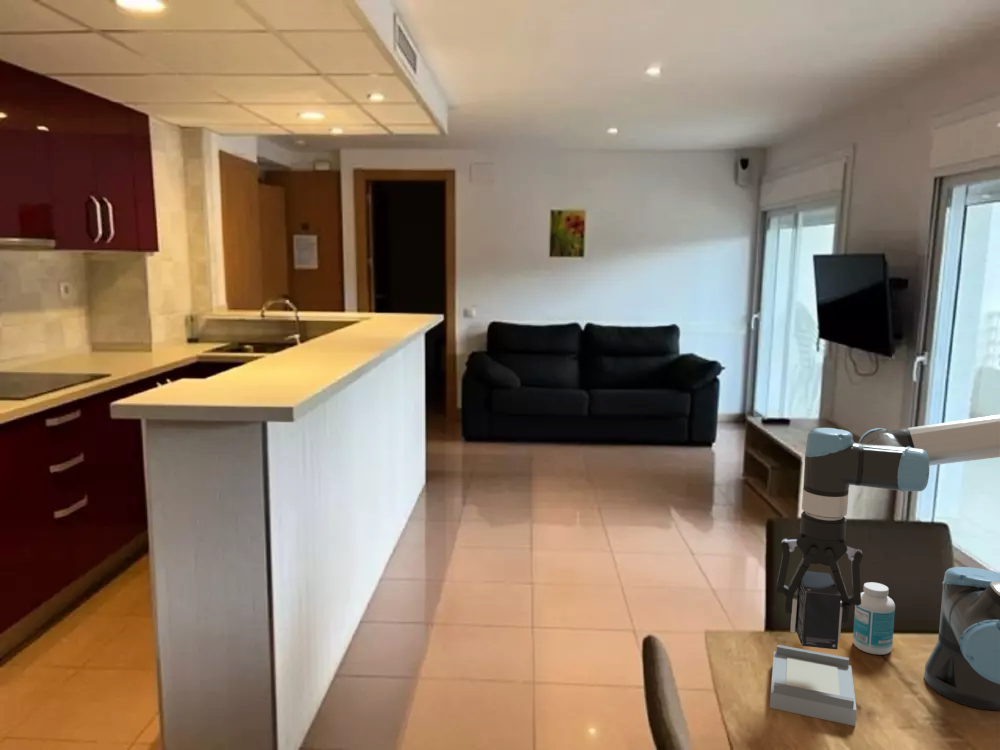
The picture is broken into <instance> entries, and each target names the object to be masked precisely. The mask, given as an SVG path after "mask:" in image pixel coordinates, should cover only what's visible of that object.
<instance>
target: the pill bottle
mask: <svg viewBox="0 0 1000 750" xmlns="http://www.w3.org/2000/svg"><path fill="white" fill-rule="evenodd" d="M862 590H863V591H862V592H861V604H860V605H854V615H853V616H854V617H853V632H852V633H853V634H852V643H853V644H854V646H855V647H856V648H857V649H858V650H860V651H862V652H865V653H868V654H872V655H876V656H877V655H879V656H881V655H882V656H883V655H887V654H889V653H890V652H891V651H892V649H893V643H894V642H893V641H894V628H895V627H894V626H895V613H896V611H895V610H896V604H895V602H894V600H893V599H892V598H891V597H890V596H889V591H890V590H889V587H888V586H887V585H885V584H883V583H879V582H874V581H871V582H869V581H867V582H864V584H863V589H862Z"/></svg>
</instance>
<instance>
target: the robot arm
mask: <svg viewBox="0 0 1000 750" xmlns="http://www.w3.org/2000/svg"><path fill="white" fill-rule="evenodd" d="M804 453H805V455H804V470H803V472H804V473H803V488H802V495H801V497H802V501H801V510H802V512H801V513H800V525H799V526H800V528H799V534H798V536H797V537H796V538H795V539H794V538H793V539H788V538H786V537H783V538H782V540H781V551H782V555H781V562H780V566H779V570H778V571H779V572H778V576H777V582H776V588H775V589H776V592H777V593H779V594H783V595H784V596H785V613H787V614H791V617H790V618H791V619H790V633H793V634H796V633H795V632H796V629H795V624H796V610H797V594H795V592H796V590H797V588H798V586H799V584H800V582H801V580H802V578H803V576H804V575H805V573H806V571H808V568H809V567H810V566H811V565H812V564H813V565H819V564H820V565H823V566H824V567H825V566H827V567H829V568H830V569H831V570H830V571H831V572H832V575H833V579H834V583H835V585H836V587H837V589H838V591H839V592H840V594H841V602H840V617H839V632H838V642H841V633H842V632H841V629H842V623H843V624H847V623H848V622H849V618H850V617H849V616H850V607H851V606H855V605H860V604H861V593H862V592H861V590H862V589H861V573H860V564H861V562H862V559H863V556H864V555H863V550H862V549H861V548H860V547H856V548H854V547H851V546H848V545H847V542H846V532H847V531H846V529H847V518H846V517H845V516H847V515H848V502H849V491H850V490H849V488H850V486H858V487H867V488H876V489H886V490H891V491H892V490H893V491H900V492H923V491H925V490H926V488H927V486H928V484H929V479H930V477H929V476H930V466H937V465H938V466H939V465H944V464H945V465H946V464H953V463H961V462H962V463H963V462H970V461H977V460H984V459H985V460H987V459H994V458H1000V414H994V415H988V416H979V417H975V418H974V417H973V418H966V419H961V420H953V421H947V422H946V421H945V422H939V423H932V424H925V425H919V426H912V427H907V428H899V429H898V428H897V429H892V430H891V429H887V428H882V427H877V428H872V429H868V430H867V431H866V432H864V433H863V434H862V435H861V437H860V438H859V440H858V442H854V435H853V433H852V432H850V431H849V430H845V429H838V428H833V427H817V428H814V429H812V430H810V431H809V432H808V433H807V439H806V448H805V452H804ZM796 547H798V549H799V551H800V552H801V553H802V558H801V559H800V562H799V563H798V566H797V568H796V570H795V571H794V574H793V576H792V577H791V580H790V581H789V584H788V585H786V584H785V583H786V579H787V574H788V573H787V572H788V568H789V563H790V558H791V553H793V552H794V551H795V548H796ZM845 554H847V558H848V560H849V561H850V565H851V566H850V567H851V584H852V586H851V587H852V595H849V594H848V592H847V587H846V584H845V582H844V579H843V576H842V572H841V569H840V566H839V562H838V561H839V560H840V559H841V558H842V557H843V556H844V555H845ZM940 606H941V607H940V616H939V617H940V618H939V628H938V630H939V631H938V639H937V642H936V644H935V645H934V648H933V649H932V652H931V654H930V655H929V657H928V659H927V661H926V662H925V665H924V666H925V667H924V673H923V674H924V675H923V677H924V678H923V679H924V680H925V683H926V684H927V685H928V686H929V687H930V688H931V689H932V690H934V692H936V693H937V694H939V695H941V696H943V697H945V698H947V699H949V700H951V701H953V702H956V703H958V704H960V705H961V704H962V705H965V706H968V707H971V708H976V709H981V710H986V711H987V710H989V711H1000V572H999V571H995V570H994V571H993V570H989V569H984V568H979V567H969V566H955V567H950V568H948V569H946V571H945V572H944V577H943V581H942V595H941V605H940Z"/></svg>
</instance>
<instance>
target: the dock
mask: <svg viewBox="0 0 1000 750" xmlns="http://www.w3.org/2000/svg"><path fill="white" fill-rule="evenodd" d="M852 669H853V668H852V665H850V657H848V656H847V657H846V656H842V655H841V656H840V655H837V654H831V653H826V652H825V653H824V652H821V651H820V652H819V651H813V650H809V649H804V648H797V647H794V646H793V647H791V646H786V645H783V644H781V645H780V644H777V645H776V650H775V651H773V659H772V669H771V685H770V696H769V697H770V698H769V699H770V700H769V709H774V710H778V711H783V712H787V713H792V714H797V715H802V716H806V717H811V718H816V719H821V720H824V721H829V722H833V723H839V724H844V725H849V726H851V727H852V726H853V727H856V722H857V704H856V694H855V686H854V679H853V670H852Z"/></svg>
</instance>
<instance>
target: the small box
mask: <svg viewBox="0 0 1000 750" xmlns="http://www.w3.org/2000/svg"><path fill="white" fill-rule="evenodd" d="M795 594H797V610H796V624H795V632H796V634H797V637H798V639H799V643H800V645H801V646H802V647H811V648H818V649H819V648H820V649H826V650H827V649H828V650H838V647H839V645H838V644H839V643H838V642H839V641H838V632H839V617H840V602H841V594H840V592H839V591H838V589H837V586H836V583H835V581H834V580H833V578H832V576H831V574H830V573H828V572H817V571H809V570H807V571H806V573H805V575H804V576H803V578H802V580H801V582H800V584H799V586H798V588H797V590H796V592H795Z"/></svg>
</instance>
